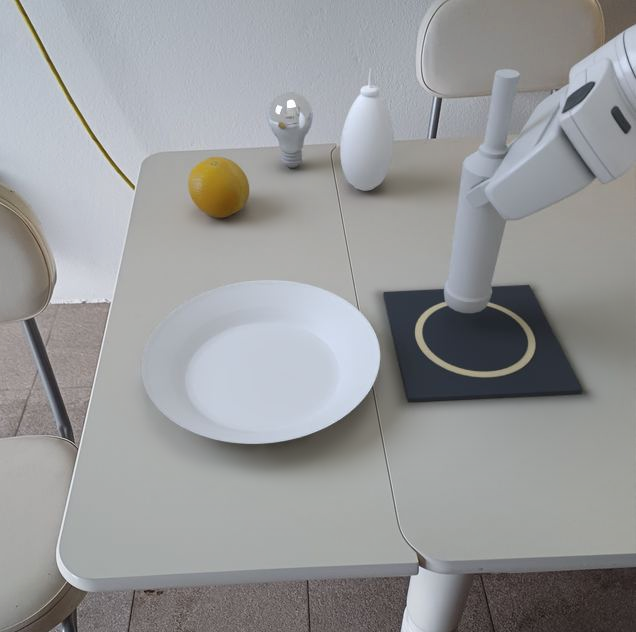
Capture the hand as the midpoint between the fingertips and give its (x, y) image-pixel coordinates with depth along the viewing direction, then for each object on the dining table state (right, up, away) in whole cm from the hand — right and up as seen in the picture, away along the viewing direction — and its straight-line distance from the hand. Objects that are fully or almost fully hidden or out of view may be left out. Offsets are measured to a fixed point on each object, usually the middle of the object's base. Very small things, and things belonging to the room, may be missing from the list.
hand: (481, 184), depth 63 cm
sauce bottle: (-7, +9, +37) cm, 38 cm away
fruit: (-29, +4, +33) cm, 44 cm away
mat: (+2, -15, +10) cm, 18 cm away
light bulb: (-18, +14, +43) cm, 48 cm away
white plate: (-22, -19, +7) cm, 30 cm away
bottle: (+1, -11, +10) cm, 15 cm away
